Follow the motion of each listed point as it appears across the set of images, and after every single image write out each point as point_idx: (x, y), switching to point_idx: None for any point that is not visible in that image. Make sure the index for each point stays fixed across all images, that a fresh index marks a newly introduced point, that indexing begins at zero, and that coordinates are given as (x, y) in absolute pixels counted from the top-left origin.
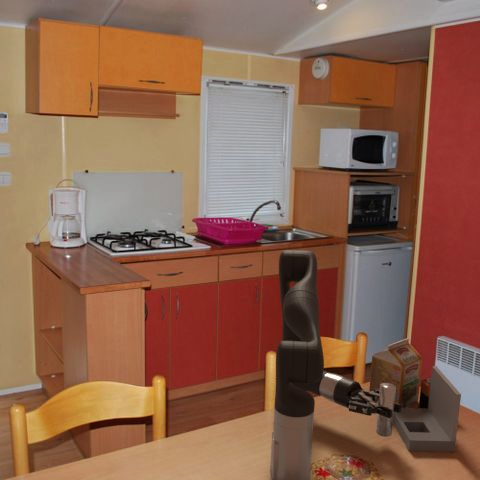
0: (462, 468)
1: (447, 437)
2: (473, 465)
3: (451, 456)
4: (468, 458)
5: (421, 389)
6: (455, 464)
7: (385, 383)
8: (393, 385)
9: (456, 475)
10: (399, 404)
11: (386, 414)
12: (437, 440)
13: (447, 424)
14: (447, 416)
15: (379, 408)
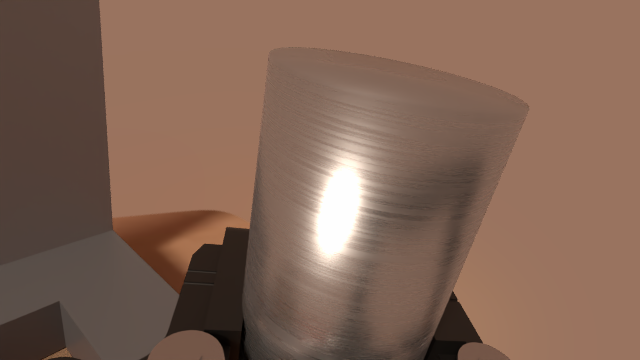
0: (212, 229)
1: (80, 243)
2: (171, 215)
3: (151, 260)
4: (131, 228)
5: None
6: (201, 243)
7: (341, 83)
8: (298, 51)
9: None
10: (240, 228)
11: None
12: (139, 261)
13: (38, 204)
14: (17, 170)
15: (462, 333)
